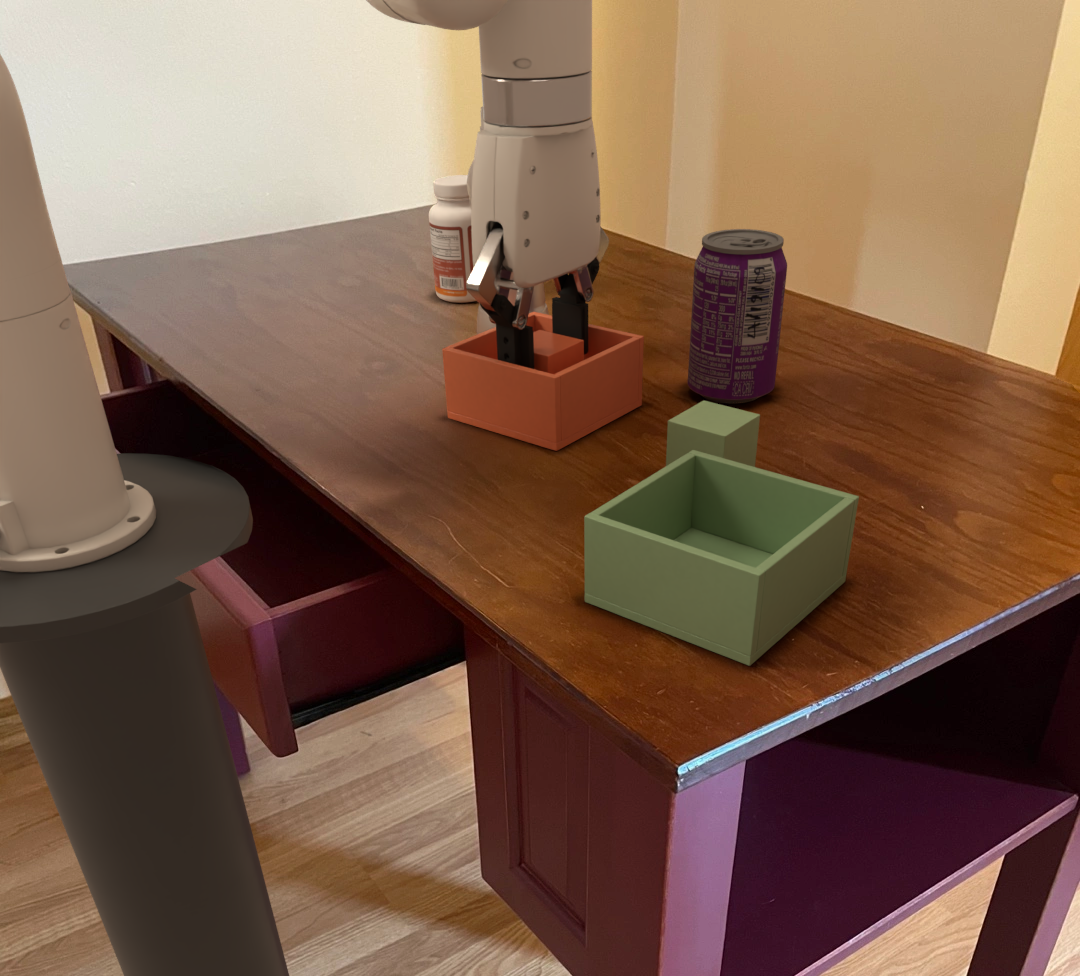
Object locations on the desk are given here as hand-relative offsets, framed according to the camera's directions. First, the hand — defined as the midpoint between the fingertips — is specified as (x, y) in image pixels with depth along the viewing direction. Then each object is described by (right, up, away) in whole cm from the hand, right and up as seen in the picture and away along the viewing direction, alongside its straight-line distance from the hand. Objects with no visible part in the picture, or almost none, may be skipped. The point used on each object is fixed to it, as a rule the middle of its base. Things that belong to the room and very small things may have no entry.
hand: (544, 361), depth 85 cm
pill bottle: (-8, +16, +29) cm, 34 cm away
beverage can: (+15, -1, +5) cm, 16 cm away
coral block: (0, -3, +2) cm, 3 cm away
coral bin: (0, -3, +2) cm, 4 cm away
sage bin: (+10, -20, -21) cm, 31 cm away
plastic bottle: (-3, +4, +13) cm, 13 cm away
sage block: (+12, -12, -9) cm, 19 cm away
